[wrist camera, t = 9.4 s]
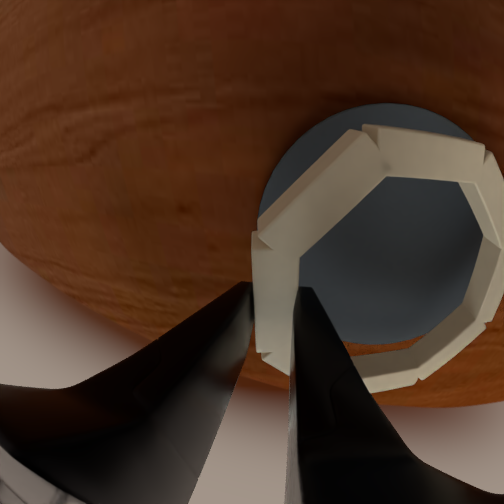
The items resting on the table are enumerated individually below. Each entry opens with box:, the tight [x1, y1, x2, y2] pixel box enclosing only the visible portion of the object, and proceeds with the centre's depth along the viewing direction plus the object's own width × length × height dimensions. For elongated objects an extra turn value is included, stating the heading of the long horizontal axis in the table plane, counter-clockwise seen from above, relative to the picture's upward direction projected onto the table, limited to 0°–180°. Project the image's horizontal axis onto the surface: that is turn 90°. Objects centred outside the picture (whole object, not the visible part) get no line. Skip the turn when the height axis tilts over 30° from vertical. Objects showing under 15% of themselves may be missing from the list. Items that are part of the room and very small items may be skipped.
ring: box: [251, 124, 504, 393], centre depth 8 cm, size 10×10×1 cm
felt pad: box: [257, 103, 483, 344], centre depth 11 cm, size 11×11×1 cm
